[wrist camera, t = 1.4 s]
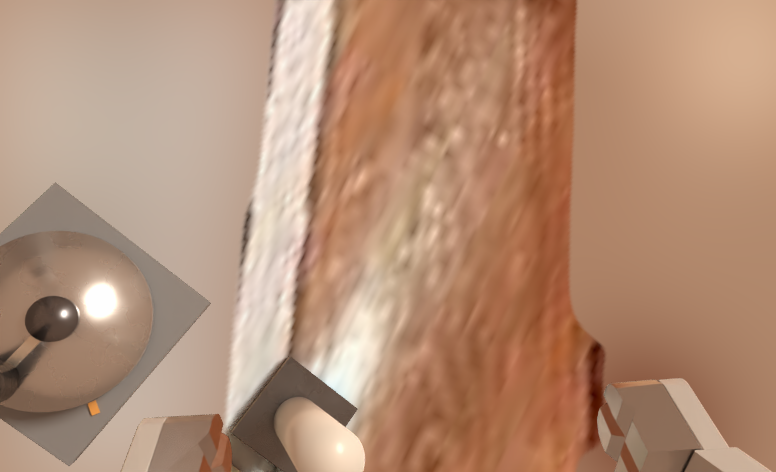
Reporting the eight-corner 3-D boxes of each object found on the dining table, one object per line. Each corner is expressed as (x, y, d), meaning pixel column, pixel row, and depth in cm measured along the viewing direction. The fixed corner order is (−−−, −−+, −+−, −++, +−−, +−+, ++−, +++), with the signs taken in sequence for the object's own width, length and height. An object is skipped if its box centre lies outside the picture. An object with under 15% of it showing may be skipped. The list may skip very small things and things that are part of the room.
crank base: (-96, 339, 37) (-115, 339, 34) (62, 189, 41) (54, 181, 39) (76, 459, 38) (68, 466, 36) (210, 303, 43) (210, 302, 41)
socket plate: (231, 430, 42) (231, 432, 41) (288, 356, 44) (290, 356, 43) (301, 482, 43) (303, 486, 42) (354, 407, 45) (357, 408, 44)
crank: (-94, 341, 35) (-174, 344, 28) (55, 200, 39) (18, 171, 32) (62, 450, 36) (25, 480, 29) (190, 304, 40) (184, 299, 33)
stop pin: (263, 426, 41) (285, 472, 28) (293, 387, 43) (327, 413, 29) (300, 454, 42) (338, 511, 29) (328, 414, 43) (377, 452, 30)
